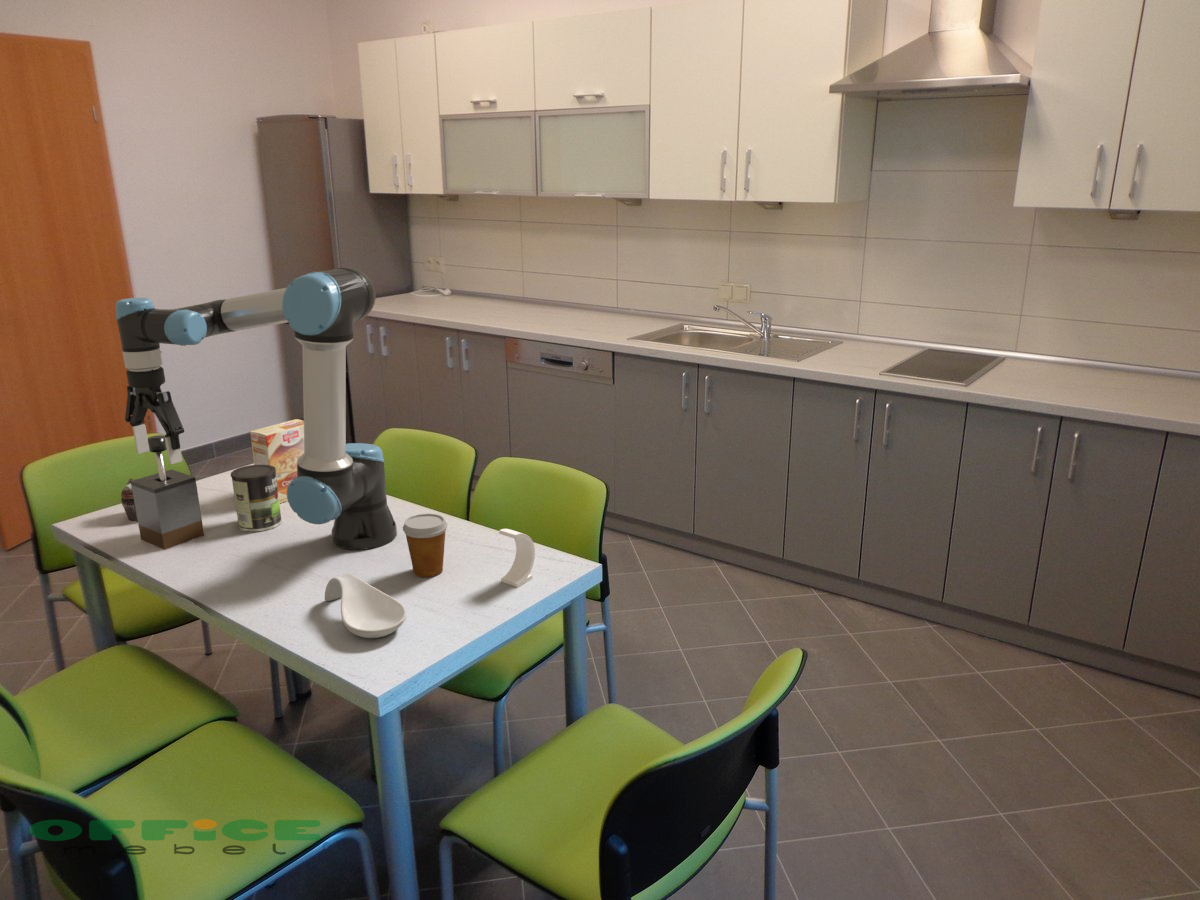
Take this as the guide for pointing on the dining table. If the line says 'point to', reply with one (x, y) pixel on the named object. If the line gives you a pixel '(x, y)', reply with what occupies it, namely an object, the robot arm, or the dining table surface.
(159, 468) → the plunger
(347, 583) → the spoon rest
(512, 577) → the headphone stand
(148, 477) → the grey brown upright block
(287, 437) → the coffeecake box
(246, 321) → the robot arm
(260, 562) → the dining table surface
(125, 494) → the cupcake
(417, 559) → the disposable coffee cup
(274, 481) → the coffee can
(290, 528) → the dining table surface
